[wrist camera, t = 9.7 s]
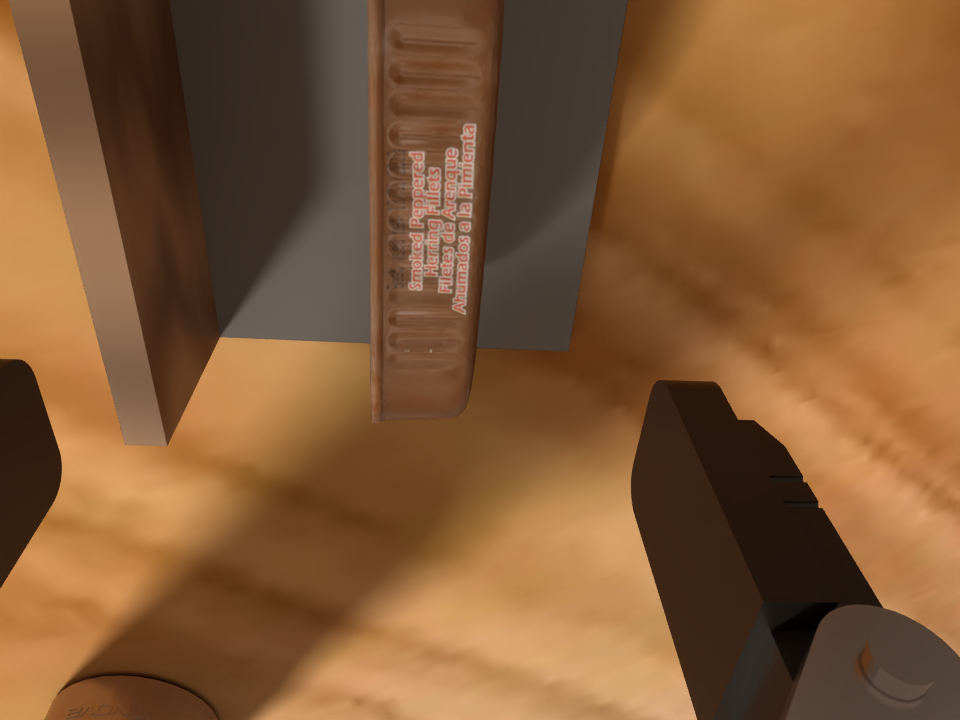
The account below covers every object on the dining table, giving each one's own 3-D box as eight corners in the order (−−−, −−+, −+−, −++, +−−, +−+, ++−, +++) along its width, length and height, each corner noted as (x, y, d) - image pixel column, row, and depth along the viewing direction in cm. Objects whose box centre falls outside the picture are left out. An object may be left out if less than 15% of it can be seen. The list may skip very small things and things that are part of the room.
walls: (568, 351, 27) (594, 459, 22) (186, 335, 26) (125, 444, 21) (695, -399, 16) (804, -517, 11) (39, -476, 15) (-159, -641, 10)
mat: (564, 337, 28) (568, 351, 27) (193, 321, 27) (186, 335, 26) (683, -386, 17) (695, -399, 16) (60, -458, 16) (39, -476, 15)
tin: (372, -201, 18) (324, -242, 11) (500, -189, 18) (532, -221, 11) (374, 322, 26) (347, 486, 19) (461, 326, 27) (466, 490, 20)
